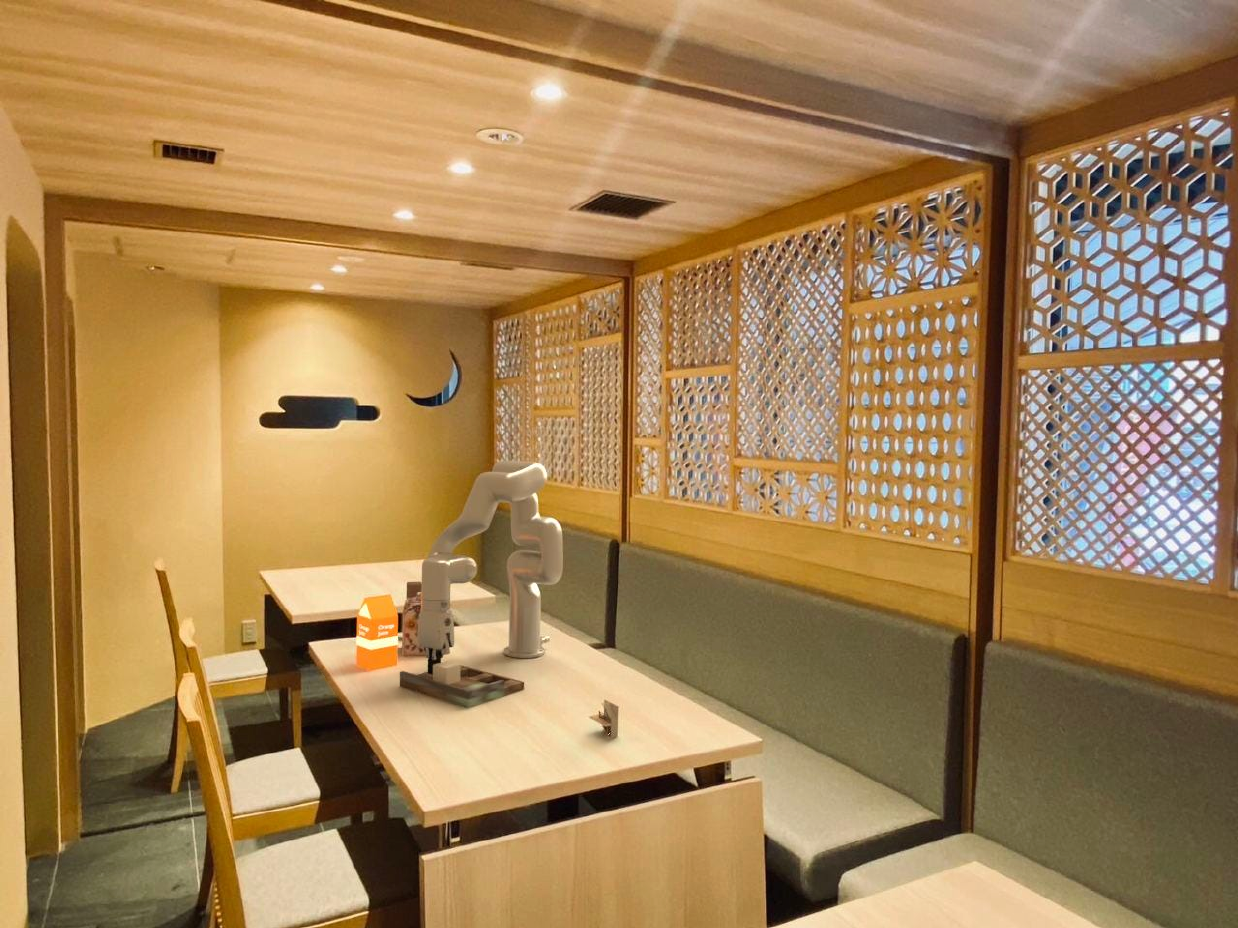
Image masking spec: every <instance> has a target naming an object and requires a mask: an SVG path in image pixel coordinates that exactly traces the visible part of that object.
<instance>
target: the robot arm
mask: <svg viewBox="0 0 1238 928" xmlns="http://www.w3.org/2000/svg"><path fill="white" fill-rule="evenodd" d="M547 477H548V473H547V470H546V468H545V467H544V465H543V464H541V463H539V462H535V461H521V460H520V461H519V460H501V461H500V460H499V461H498V462H496V463H495V464H494V465H493V466H492V471H485V472H482V473H480V474H479V475H478V476H477V477H476V478H475V481H474V483H473V485H472V488H471V490H470V493H469V495H468V497H467V499H466V502H465V504H464V507H463V509H462V512H461V514H460V516H459V517H458V518H456V519H455V520H453V522H452V523H450V524H449V525H448V526H447V527H446V528H445V529H443V531H441V532H440V534H439V535H438V536H437V537H436V539H435V540H434V542H433V545H432V547H431V549H430V552H429V555H428V556H427V558H426V559H424V560H422V565H421V583H422V587H421V609H420V614H419V620H418V634H417V637H418V643H419V644H420V648H421V649H423V650H424V651H425V653H426V656H425V657H426V659H427V672H428V674H431V675H433V665H434V664H438V663H441V662H442V659H444V656H445V655H450V653H451V651H450V648H454V646H455V625H454V623H455V622H454V616H453V612H452V610H451V606H452V605H451V585H453V584H466V583H467V584H468V583H470V582H471V581H472V580H473V579H474V578H475V577H476V575H477V572H478V564H477V563H476V561H475V560H474V559H473V557H470V556H467V555H461V554H455V553H452V552H453V551H454V549H455V548H456V547H457V546H458V545H459V544H461V542H463V541H465V540H467V539H469V538H471V537H474V536H476V535H478V534H481V533H484V532H485V531H487V530H488V529H489V528H490V526H491V524H492V520H493V518H494V516H495V512H496V510H497V508H498V506H499V504H500V503H507V504H509V510H510V533H511V534H510V535H511V539H512V543H514V544H515V545H517V546H521V547H527V548H533V549H534V548H536V549H539V551H537V550H529V549H519V550H515V551H514V552H512V553H511V554H510V555H509V557H508V558H507V561H506V570H507V578H508V585H509V606H508V607H509V611H508V614H509V615H508V646H505V647H504V648H503V649H502V651H503V654H504V655H505V656H507V657H511V658H517V659H526V658H527V659H531V658H538V657H540V656H541V657H542V656H543V655H545V653H546V649H545V648H544V647H543V644H546V643H550V636H548V635H546V636H541V612H542V611H541V609H542V605H541V604H542V595H541V591H540V588H539V585H548V586H549V585H550V586H552V585H556V584H557V583H558V582H560V580H561V578H562V575H563V567H564V558H563V557H564V554H563V553H564V550H563V549H564V547H563V545H564V544H563V529H562V527H561V524H560V522H558V520H556V519H555V518H554V517H549V516H541V515H540V509H539V499H538V495H537V493H538V492H540V491H541V490H542V489H543V488H544V486H545V485H546V484H547V480H548V479H547ZM538 584H539V585H538ZM437 651H438V652H437Z"/></svg>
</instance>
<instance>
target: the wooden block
mask: <svg viewBox="0 0 1238 928" xmlns="http://www.w3.org/2000/svg"><path fill="white" fill-rule="evenodd" d="M421 587H422V581H407V582H406V600H407V599H409V598H413V597H416V596H417V593H418V592H421Z"/></svg>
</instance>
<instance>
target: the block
mask: <svg viewBox="0 0 1238 928" xmlns="http://www.w3.org/2000/svg"><path fill="white" fill-rule="evenodd" d="M460 665H461V664H460V663H457V662H452V661H449V660H445V661H441V663H438V664H434V665H433V680H436V681H440V682H443V683H447V684H452V683H456V682H459V681H460Z"/></svg>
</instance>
